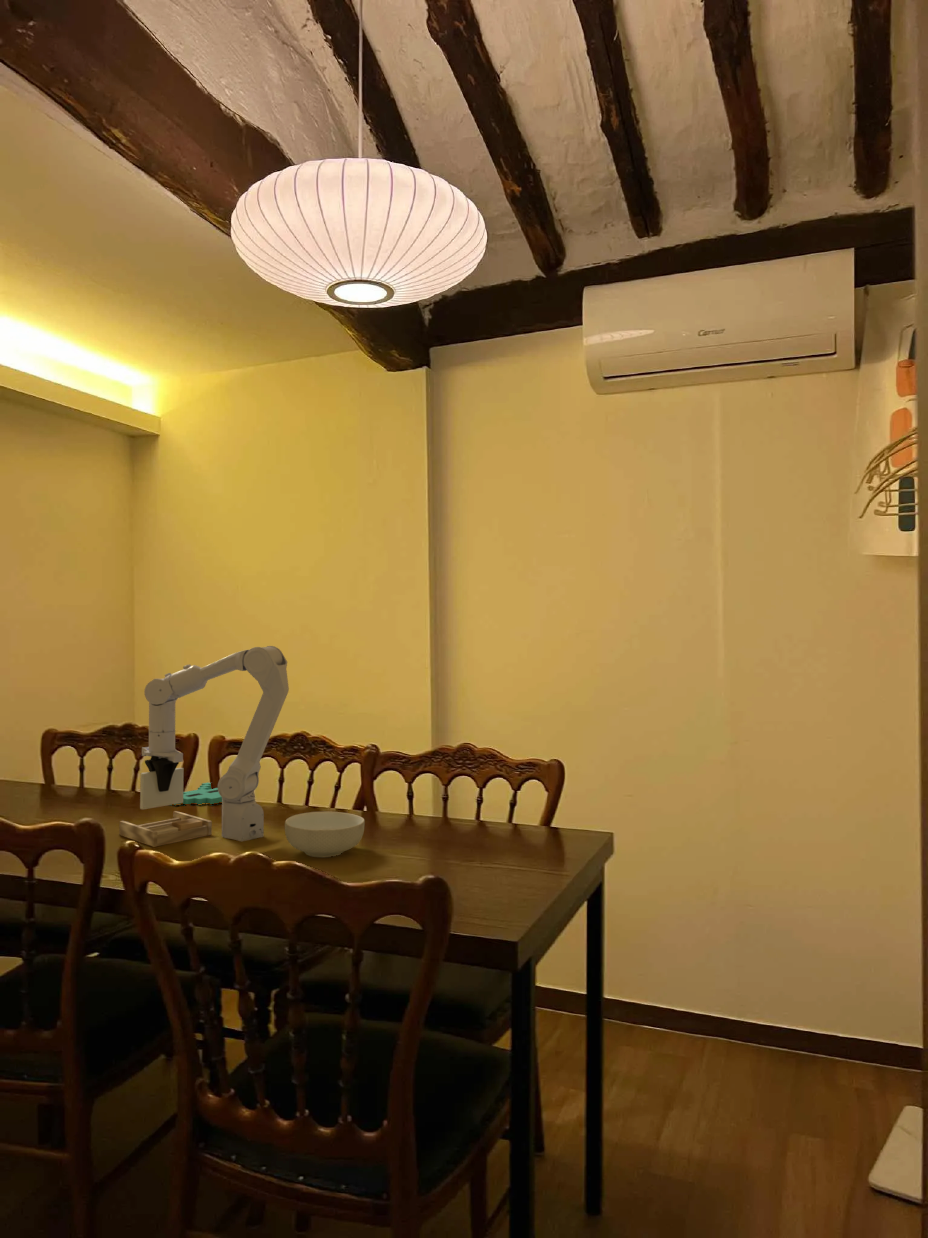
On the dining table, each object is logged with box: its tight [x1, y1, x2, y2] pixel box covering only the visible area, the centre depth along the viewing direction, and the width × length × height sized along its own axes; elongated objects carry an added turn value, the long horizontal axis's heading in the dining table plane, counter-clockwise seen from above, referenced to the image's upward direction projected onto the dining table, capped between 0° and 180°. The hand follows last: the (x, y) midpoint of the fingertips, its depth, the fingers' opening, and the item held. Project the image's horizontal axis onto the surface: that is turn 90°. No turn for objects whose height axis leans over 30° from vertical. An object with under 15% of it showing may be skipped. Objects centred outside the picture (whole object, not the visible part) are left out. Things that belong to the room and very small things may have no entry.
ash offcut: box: [150, 825, 178, 835], centre depth 185 cm, size 4×5×2 cm
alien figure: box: [174, 782, 222, 805], centre depth 233 cm, size 20×2×20 cm
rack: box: [118, 810, 213, 848], centre depth 189 cm, size 15×14×4 cm
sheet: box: [139, 767, 185, 810], centre depth 192 cm, size 1×10×8 cm, turn 139°
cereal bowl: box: [284, 811, 366, 858], centre depth 179 cm, size 17×17×7 cm
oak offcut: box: [172, 818, 202, 831], centre depth 189 cm, size 4×5×3 cm
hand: (161, 790), depth 192 cm, fingers closed on sheet
